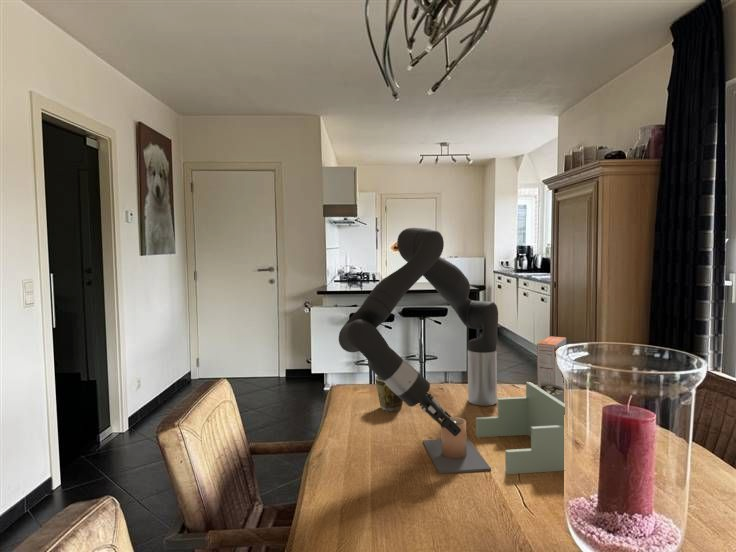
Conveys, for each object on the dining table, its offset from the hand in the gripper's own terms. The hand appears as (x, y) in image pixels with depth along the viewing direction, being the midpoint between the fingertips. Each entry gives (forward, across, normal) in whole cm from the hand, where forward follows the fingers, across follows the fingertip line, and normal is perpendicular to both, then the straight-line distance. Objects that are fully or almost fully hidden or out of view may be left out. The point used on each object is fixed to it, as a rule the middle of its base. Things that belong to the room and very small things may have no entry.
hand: (453, 426), depth 117 cm
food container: (+30, +17, -19) cm, 39 cm away
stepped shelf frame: (+17, 0, -6) cm, 18 cm away
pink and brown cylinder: (+5, 0, +5) cm, 7 cm away
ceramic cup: (-2, +36, +13) cm, 38 cm away
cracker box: (+34, +33, -24) cm, 53 cm away
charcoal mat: (+5, 0, +5) cm, 7 cm away
